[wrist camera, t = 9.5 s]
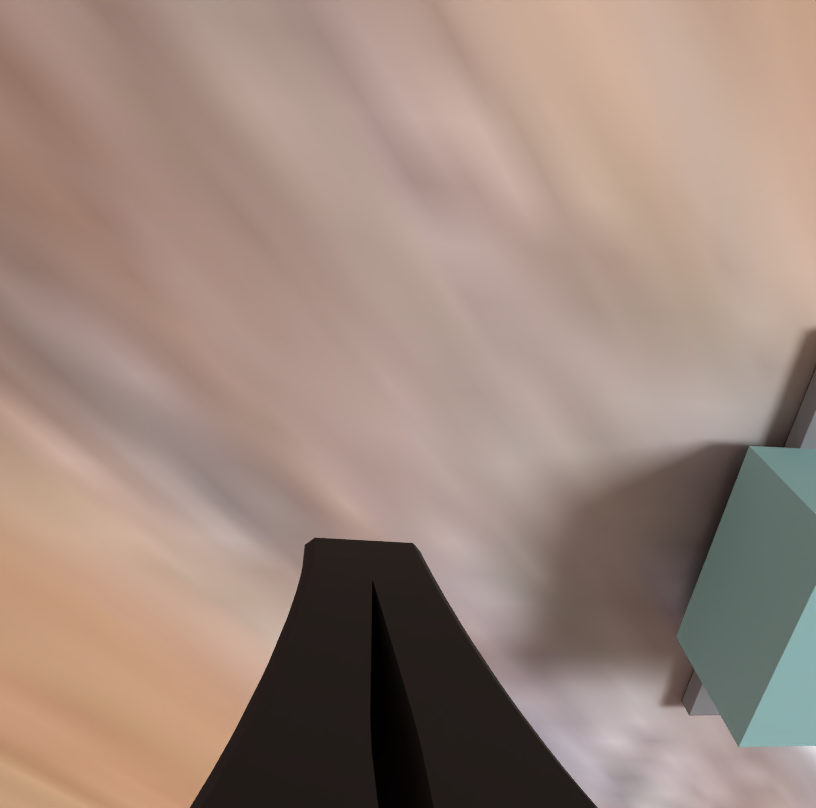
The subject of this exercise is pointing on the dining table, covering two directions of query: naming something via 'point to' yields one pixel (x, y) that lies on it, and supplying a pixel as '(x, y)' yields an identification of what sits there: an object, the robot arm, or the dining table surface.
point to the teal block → (761, 603)
